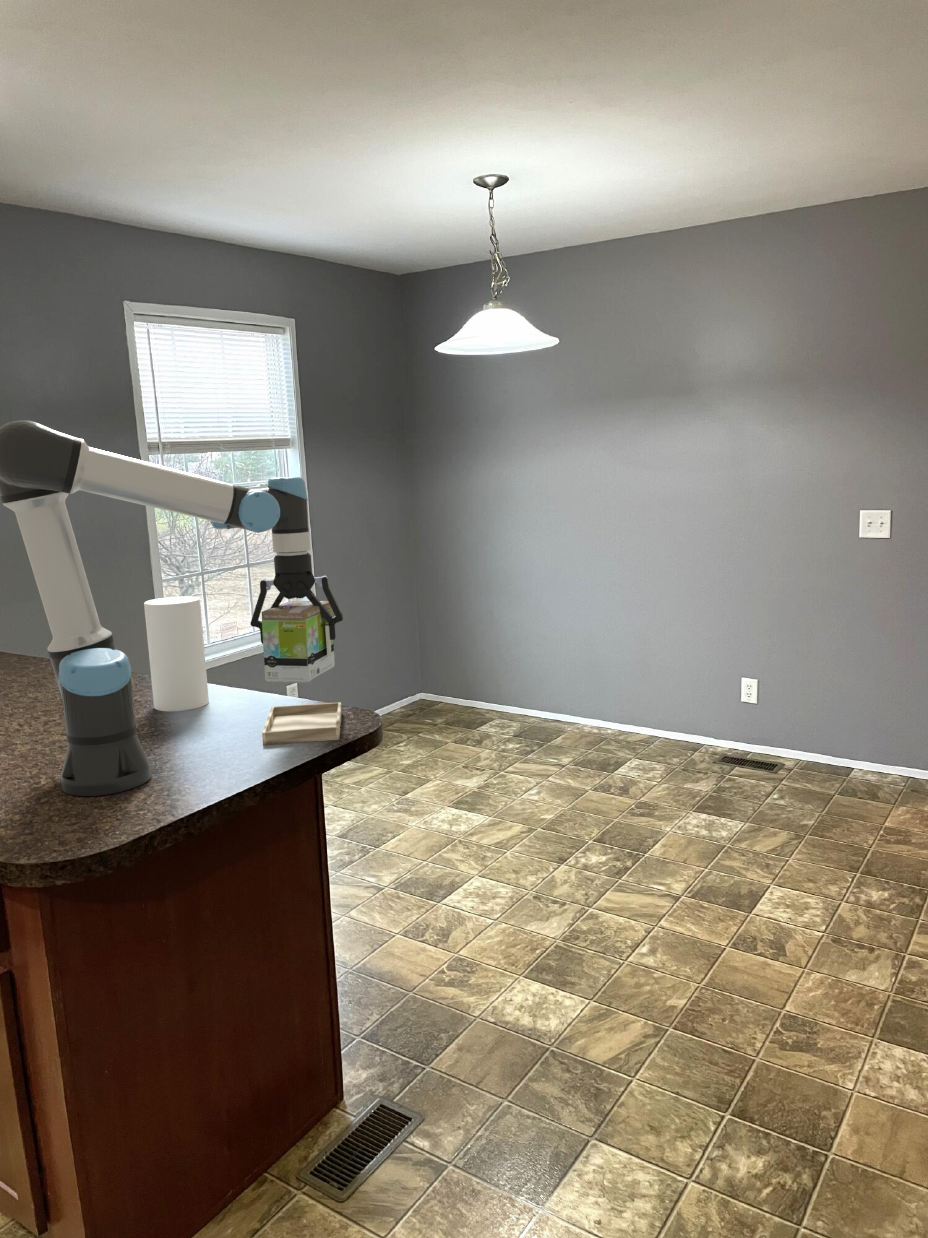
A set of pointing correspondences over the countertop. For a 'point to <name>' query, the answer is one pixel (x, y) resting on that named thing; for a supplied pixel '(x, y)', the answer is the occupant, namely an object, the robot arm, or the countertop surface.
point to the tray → (303, 723)
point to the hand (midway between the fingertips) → (299, 657)
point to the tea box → (295, 642)
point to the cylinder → (176, 653)
